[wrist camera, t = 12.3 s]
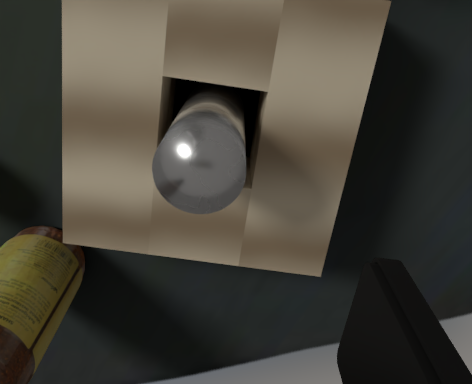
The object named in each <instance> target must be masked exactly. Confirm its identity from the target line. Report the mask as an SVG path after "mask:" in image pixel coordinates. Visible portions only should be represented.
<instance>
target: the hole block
mask: <svg viewBox="0 0 472 384" xmlns="http://www.w3.org/2000/svg"><path fill="white" fill-rule="evenodd" d="M390 4H391V1H386V0H62V159H63V243H66V244H74V245H81V246H89V247H97V248H104V249H112V250H120V251H127V252H135V253H142V254H150V255H158V256H165V257H173V258H181V259H188V260H196V261H204V262H211V263H219V264H227V265H234V266H242V267H249V268H257V269H265V270H272V271H280V272H288V273H295V274H303V275H311V276H318V277H321V273H322V269H323V265H324V261H325V257H326V254H327V250H328V246H329V242H330V238H331V234H332V230H333V226H334V222H335V219H336V215H337V211H338V207H339V203H340V199H341V195H342V191H343V187H344V184H345V180H346V176H347V172H348V168H349V164H350V160H351V156H352V152H353V148H354V145H355V141H356V137H357V133H358V129H359V125H360V121H361V117H362V113H363V110H364V106H365V102H366V98H367V94H368V90H369V86H370V82H371V78H372V74H373V71H374V67H375V63H376V59H377V55H378V51H379V47H380V43H381V39H382V36H383V32H384V28H385V24H386V20H387V16H388V12H389V8H390ZM176 78H179V79H186V80H193V81H199V82H206V83H213V84H219V85H226V86H233V87H239V88H246V89H253V90H259V91H260V97H259V103H258V109H257V115H256V121H255V127H254V133H253V139H252V145H251V151H250V157H246V180H245V184H244V186H243V189H242V191H241V193H240V194H239V196H238V197H237V198H236V199H235V200H234V201H233V202H232V203H231V204H230V205H229V206H227V207H225V208H224V209H222V210H220V211H217V212H214V213H209V214H192V213H188V212H184V211H182V210H180V209H177V208H176V207H174V206H172V205H171V204H170V203H169V202H167V201H166V200H165V199H164V198H163V196H162V195H161V194H160V193H159V191H158V189H157V187H156V185H155V183H154V179H153V174H152V163H153V157H154V154H155V152H156V150H157V148H158V146H159V144H160V143H161V141H162V139H163V138H164V136H165V134H166V133H167V131H168V129H169V128H170V126H171V124H172V118H173V107H174V96H175V86H176Z"/></svg>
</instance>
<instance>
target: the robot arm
mask: <svg viewBox="0 0 472 384" xmlns="http://www.w3.org/2000/svg"><path fill="white" fill-rule="evenodd" d="M337 363H338V368H339V372H340V375H341V378H342V382H343V384H472V375H471V373H470V371H469V370H468V368H467V366H466V365H465V363H464V362H463V360H462V358H461V357H460V355H459V354H458V352H457V350H456V349H455V347H454V345H453V344H452V342H451V341H450V339H449V338H448V336H447V334H446V333H445V331H444V329H443V328H442V326H441V325H440V323H439V321H438V320H437V318H436V317H435V315H434V313H433V312H432V310H431V308H430V307H429V305H428V304H427V302H426V300H425V299H424V297H423V296H422V294H421V292H420V291H419V289H418V288H417V286H416V284H415V283H414V281H413V279H412V278H411V276H410V275H409V273H408V271H407V270H406V268H405V267H404V265H403V263H402V262H401V261H399V260H391V259H384V258H374V259H373V261H372V262H371V263H368V262H367V263H365V265H364V267H363V270H362V273H361V276H360V279H359V283H358V286H357V289H356V292H355V296H354V299H353V302H352V305H351V309H350V312H349V315H348V319H347V322H346V325H345V328H344V332H343V335H342V338H341V341H340V345H339V348H338V353H337Z"/></svg>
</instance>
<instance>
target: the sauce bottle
mask: <svg viewBox="0 0 472 384" xmlns="http://www.w3.org/2000/svg"><path fill="white" fill-rule="evenodd" d="M84 271H85V257H84V252H83V250H82V249H81V247H80V245H74V244H66V243H63V231H62V230H59V229H56V228H54V227H47V226H33V227H29V228H26V229H24V230H22V231H21V232H19V233H18V234H17V235H16V236H15V237H14V238H12V239H10V240H8V241H7V242H6V243H5V244H3V245H2V247H1V248H0V384H27V383H28V382H29V381H30V380H31V378H32V376H33V375H34V373H35V371H36V369H37V367H38V365H39V363H40V361H41V359H42V357H43V355H44V354H45V352H46V350H47V348H48V346H49V344H50V342H51V340H52V338H53V336H54V335H55V333H56V331H57V329H58V327H59V325H60V323H61V321H62V319H63V317H64V315H65V313H66V311H67V310H68V308H69V306H70V304H71V302H72V300H73V298H74V296H75V295H76V293H77V291H78V289H79V287H80V285H81V281H82V280H83V274H84Z"/></svg>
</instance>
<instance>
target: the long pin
mask: <svg viewBox="0 0 472 384" xmlns="http://www.w3.org/2000/svg"><path fill="white" fill-rule="evenodd" d="M152 174H153V179H154V183H155V185H156V187H157V189H158V191H159V193H160V194H161V195H162V196H163V198H164V199H165V200H166V201H167V202H169V203H170V204H171V205H172V206H174V207H176V208H177V209H180V210H182V211H184V212H188V213H192V214H209V213H214V212H217V211H220V210H222V209H224V208H225V207H227V206H229V205H230V204H231V203H232V202H233V201H234V200H235V199H236V198H237V197H238V196H239V194H240V193H241V191H242V189H243V186H244V184H245V180H246V149H245V123H244V106H243V102H242V100H241V98H240V96H239V94H238V93H237V92H236V91H235V90H234V89H233V88H232V87H230V86H226V85H219V84H213V83H203V84H201V85H199V86H198V87H196V88H195V89H194V90H193V91H192V92H191V93H190V95H189V96H188V98H187V100H186V101H185V103H184V105H183V106H182V108H181V109H180V111H179V113H178V114H177V116H176V118H175V119H174V121H173V123H172V124H171V126H170V128H169V129H168V131H167V133H166V134H165V136H164V138H163V139H162V141H161V143H160V144H159V146H158V148H157V150H156V152H155V154H154V157H153V163H152Z"/></svg>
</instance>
